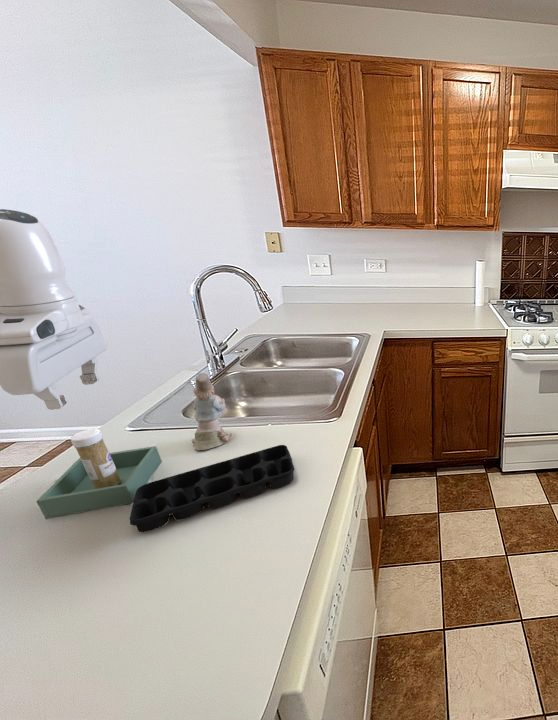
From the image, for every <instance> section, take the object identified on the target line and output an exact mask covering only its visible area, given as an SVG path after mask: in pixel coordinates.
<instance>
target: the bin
mask: <svg viewBox="0 0 558 720" xmlns="http://www.w3.org/2000/svg"><path fill="white" fill-rule="evenodd" d="M109 453H110V456H111V458H112V460H113V462H114V465H115V467H116V470H117V472H118V475H119V477H120V478H121V480H122V481H121V483H120V484H119V485H116V486H110V487H105V488H99V489H94V485H93V483H92V481H91V479H90V478H89V476H88V474H87V472H86V470H85V468H84V465H83V463H82V461H81V459H80V457H79V458H78V459H76V461H74V463H73V464H72V465H71V466H69V468H67V470H66V471H65V472H64V473H62V475H60V476H59V478H58V479H57V480H55V482H54V483H53V484H52V485H51V486H50V487H49V488H48V489H46V491H45V492H44V493H43V494H42V495H40V496H39V498H38V499H36V504H37V505H38V507H39V509H40V511H41V513H42V515H43V517H44V519H50V518H56V517H57V518H58V517H63V516H67V515H73V514H78V513H79V514H80V513H84V512H89V511H90V512H91V511H95V510H101V509H106V508H112V507H116V506H122V505H129V504H133V501H134V497H135V494H136V490H137V489H138V488H139V487H141V486H143V485H145V484H147V483H149V480H151V478H152V476H153V475H154V473H155V472H156V470H157V469H158V468H159V466H160V464H161V463H162V458H161V456H160V453H159V451H158V448H157V446H156V445H154V446H146V447H140V448H134V449H127V450H120V451H119V450H118V451H114V452H109Z"/></svg>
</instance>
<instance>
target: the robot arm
mask: <svg viewBox="0 0 558 720" xmlns="http://www.w3.org/2000/svg"><path fill="white" fill-rule="evenodd" d="M107 348H108V342H107V339H106V337H105V334H104V332H103V330H102V328H101V326H100V324H99V322H98V320H97V318H95V316H94V315H92V314H90V313H89V310H88V309H87V308H86V307H83V306H82V305H80V304H79V302H78V299H77V296H76V294H75V292H74V291H73V289H72V288H71V287H70V285H69V284H68V282H67V280H66V267H65V265H64V262H63V260H62V257H61V254H60V252H59V249H58V247H57V245H56V243H55V241H54V238H53V237H52V235H51V233H50V232H49V230H48V229H47V228H46V227H45V225H44V224H43V222H42V221H41V220H40V219H39V218H38V217H36V216H34V215H31V214H30V213H26V212H23V211H18V210H12V209H4V208H0V387H1V389H2V390H3V391H4V392H6V393H8V394H10V395H11V396H25V395H34V396H35V397H37V398H38V399H40V400H41V401H43V402H44V404H45V407H46V408H47V409H48V410H51V411H52V410H61V408H63V407H64V406H65V405H66V404H67V400H66V398H65V396H64V394H58V393H57V392H56V391H55V390H56V385H55V383H57V382H58V381H60V380H62V379H63V378H64V377H66V376H67V375H69V374H71V373H72V372H73V371H74V372H75V370H77V369H78V368H80V367H81V375H79V378H80V380H81V383H82V384H83V385H85V386H88V385H94V384H95V383H96V382H98V381H99V379H100V378H99V376H98V373H97V371H98V370H97V369H98V360H97V357H98V356H99V355H100V354H102V353H103V352H105V351H106V350H107Z"/></svg>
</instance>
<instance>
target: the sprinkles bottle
mask: <svg viewBox="0 0 558 720" xmlns="http://www.w3.org/2000/svg"><path fill="white" fill-rule="evenodd" d="M70 442H71V444H72V446H73V447H74V448H75V450H76V452H77V454H78V456H79V458H80V459H81V461H82V463H83V465H84V468H85V470H86V472H87V474H88V476H89V478H90V479H91V481H92V483H93V485H94V489H99V488H105V487H110V486H116V485H119V484H120V483H121V481H122V480H121V478H120V477H119V475H118V472H117V470H116V467H115V465H114V462H113V460H112V458H111V456H110V453H111V452H110V451H109V450H108V448H107V445H106V443H105V440H104V437H103V433H102V431H101V430H100V429H99V428H88V429H84V430H81V431H78V432H77V433H75V434H73V435H71V437H70Z"/></svg>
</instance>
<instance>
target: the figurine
mask: <svg viewBox="0 0 558 720" xmlns="http://www.w3.org/2000/svg"><path fill="white" fill-rule="evenodd" d="M192 391H193V392H192V393H194V396H195V397H196V398H195V399H194V402H193V407H192V408H193V410H195V411H194V418H195V421H196V422H197V424H198V425H197V427H196V431H195V432H194V438H193V439H191V443H192V444H193V445H192V447H193V448H194V449H195V450H196V451H197V450H198V451H204V450H210V449H213V448H216V447H219V446H221V445H223V444H225V443H227V442H228V441H229V440H230V435H229V434H228V433H227V432H226V430H224V429H223V427H222V425H220V420H219V419H220V418H221V417H224V416H226V415H227V414H228V412H229V409H228V408H227V407H226V400H225V398H223V397H221V396H220V395H218V394H215V392H216V391H215V386H214V385H213V384H212V382H211V378H210V376H209V374H207V373H205V372H200V373H197V374H196V376H195V386H194V388H193V390H192Z"/></svg>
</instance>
